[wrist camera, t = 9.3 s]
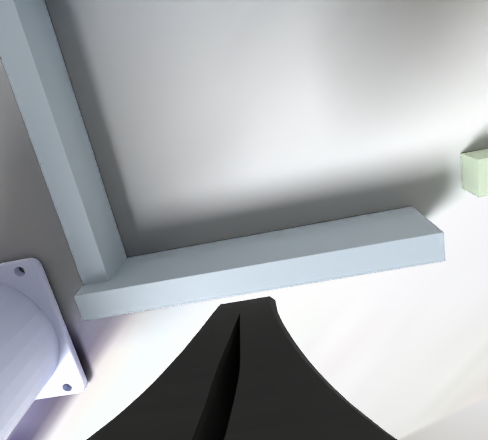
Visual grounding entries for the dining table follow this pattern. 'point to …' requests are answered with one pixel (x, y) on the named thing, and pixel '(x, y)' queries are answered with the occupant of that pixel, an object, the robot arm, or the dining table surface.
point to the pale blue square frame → (188, 258)
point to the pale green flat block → (475, 172)
